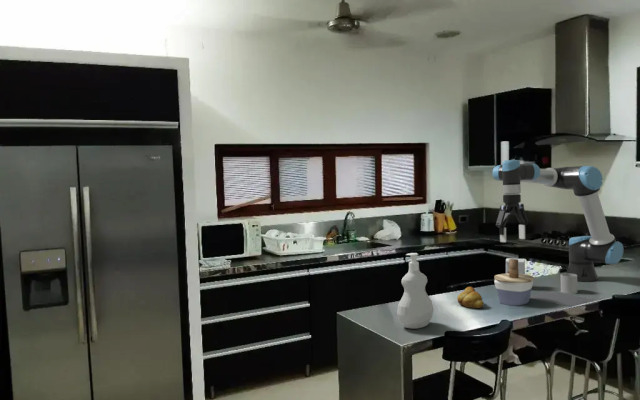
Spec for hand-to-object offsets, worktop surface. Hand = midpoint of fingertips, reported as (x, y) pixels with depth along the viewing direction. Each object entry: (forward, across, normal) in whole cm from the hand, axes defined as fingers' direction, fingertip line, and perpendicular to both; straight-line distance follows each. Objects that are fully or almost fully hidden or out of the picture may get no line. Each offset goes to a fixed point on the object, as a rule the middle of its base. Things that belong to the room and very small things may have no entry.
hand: (512, 240), depth 223 cm
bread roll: (+29, +20, -8) cm, 36 cm away
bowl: (+29, 0, 0) cm, 29 cm away
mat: (+29, -19, +10) cm, 36 cm away
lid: (+18, 0, 0) cm, 18 cm away
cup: (+29, -35, +6) cm, 46 cm away
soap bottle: (+29, +58, -3) cm, 65 cm away
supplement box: (+29, -23, -16) cm, 40 cm away
